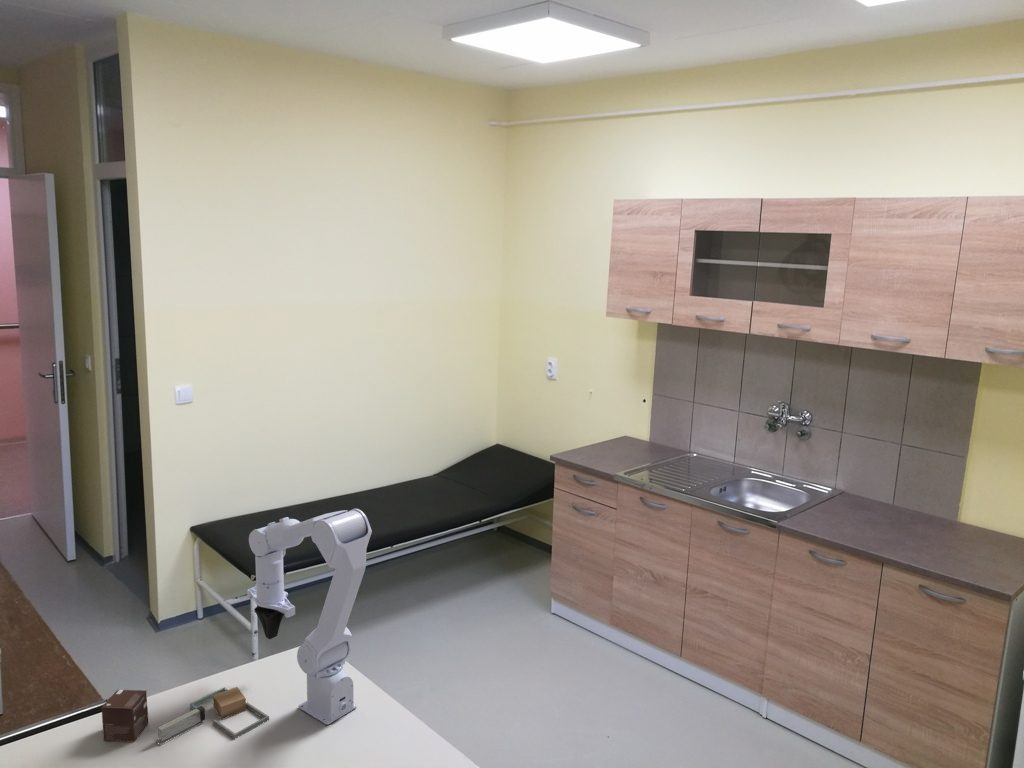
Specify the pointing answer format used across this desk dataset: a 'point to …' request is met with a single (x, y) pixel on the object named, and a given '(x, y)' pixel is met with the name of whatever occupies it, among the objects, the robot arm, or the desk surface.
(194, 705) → the frame
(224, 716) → the plug
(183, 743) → the desk surface
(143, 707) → the box
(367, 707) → the desk surface
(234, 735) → the socket
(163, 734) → the bar
